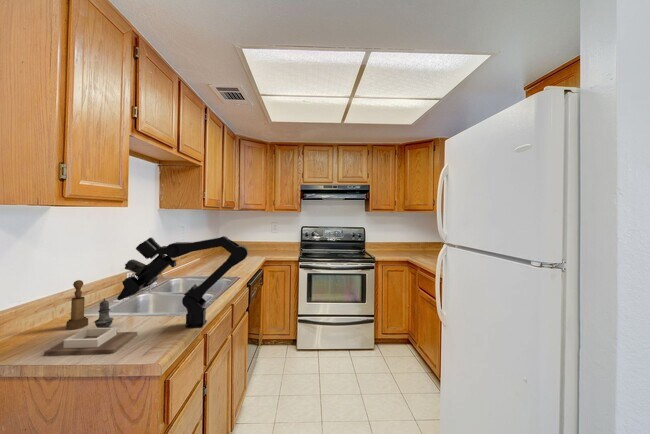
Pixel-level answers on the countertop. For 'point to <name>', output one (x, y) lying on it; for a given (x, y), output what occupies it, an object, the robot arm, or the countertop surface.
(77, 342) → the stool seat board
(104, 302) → the salt shaker
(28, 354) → the countertop surface
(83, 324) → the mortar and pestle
